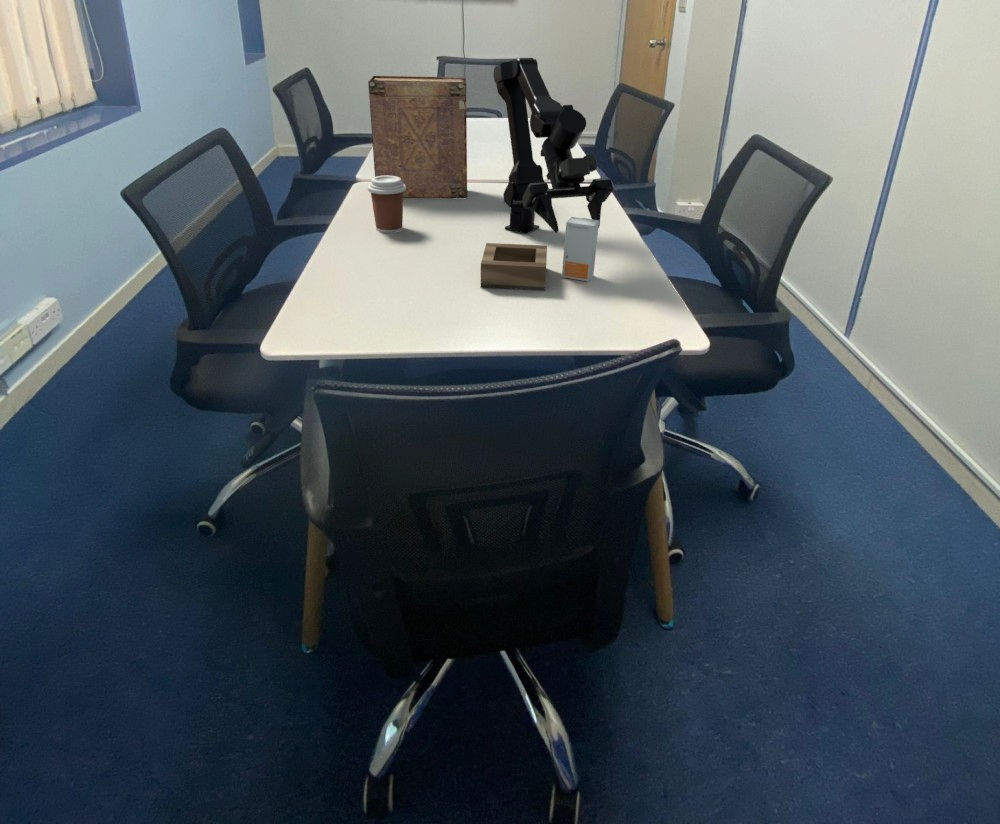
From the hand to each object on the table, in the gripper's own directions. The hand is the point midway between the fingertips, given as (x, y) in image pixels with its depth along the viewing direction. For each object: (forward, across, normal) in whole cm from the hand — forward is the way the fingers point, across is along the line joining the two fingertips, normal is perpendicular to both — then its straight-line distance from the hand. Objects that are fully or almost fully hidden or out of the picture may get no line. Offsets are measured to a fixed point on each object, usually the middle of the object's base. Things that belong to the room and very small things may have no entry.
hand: (577, 229), depth 148 cm
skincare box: (+8, 0, +6) cm, 10 cm away
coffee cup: (-22, -32, +36) cm, 52 cm away
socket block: (+6, -13, +8) cm, 16 cm away
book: (-43, -16, +56) cm, 72 cm away
